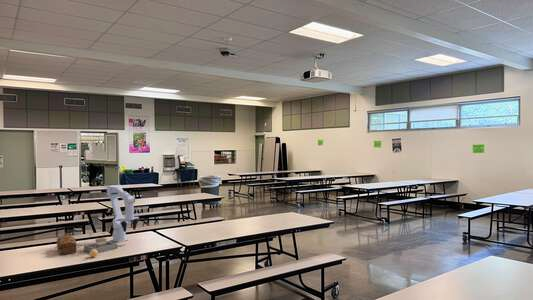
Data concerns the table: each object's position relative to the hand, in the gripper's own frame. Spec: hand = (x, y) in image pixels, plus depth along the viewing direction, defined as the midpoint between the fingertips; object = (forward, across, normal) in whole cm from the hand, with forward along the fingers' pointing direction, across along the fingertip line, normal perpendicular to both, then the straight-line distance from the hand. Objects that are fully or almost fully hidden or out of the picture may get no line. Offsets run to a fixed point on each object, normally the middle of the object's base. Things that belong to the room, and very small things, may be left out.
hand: (129, 230), depth 259 cm
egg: (+10, -32, -10) cm, 35 cm away
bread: (+10, -37, +18) cm, 42 cm away
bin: (+10, -20, +3) cm, 23 cm away
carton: (+10, -20, +3) cm, 23 cm away
